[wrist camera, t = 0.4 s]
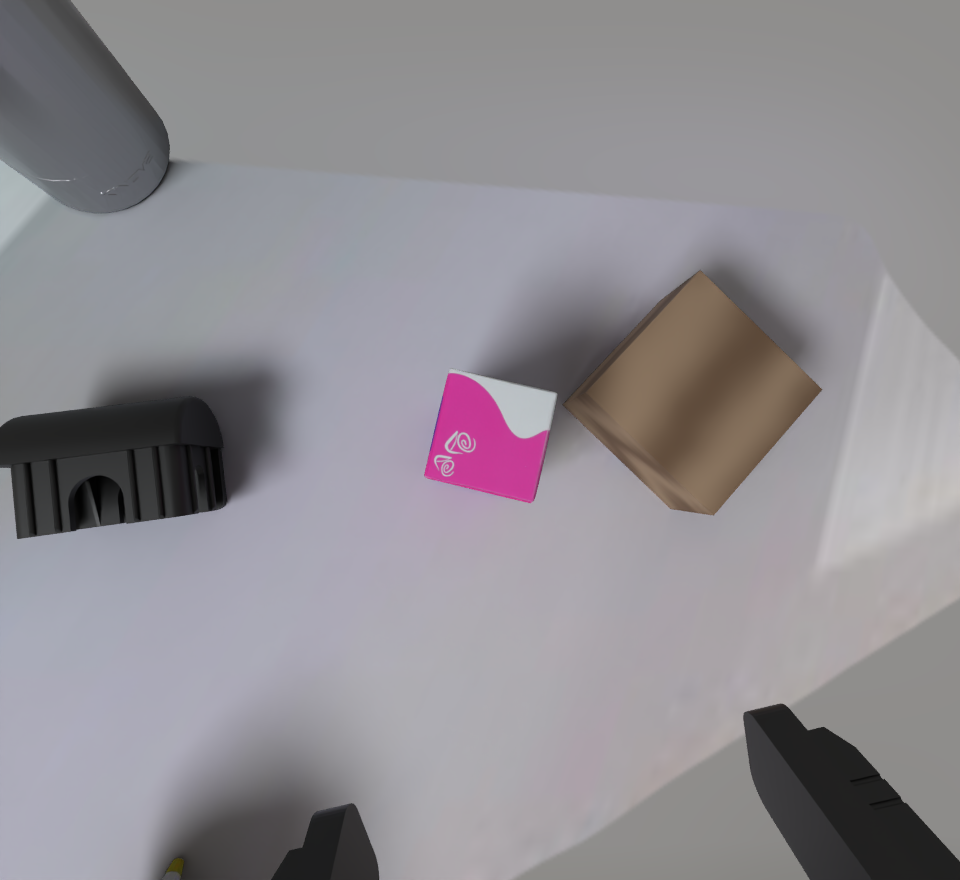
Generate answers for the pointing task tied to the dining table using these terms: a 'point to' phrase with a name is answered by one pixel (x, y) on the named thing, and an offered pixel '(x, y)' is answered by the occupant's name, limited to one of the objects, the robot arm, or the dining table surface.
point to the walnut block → (693, 397)
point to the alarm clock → (174, 870)
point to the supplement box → (491, 435)
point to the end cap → (113, 465)
